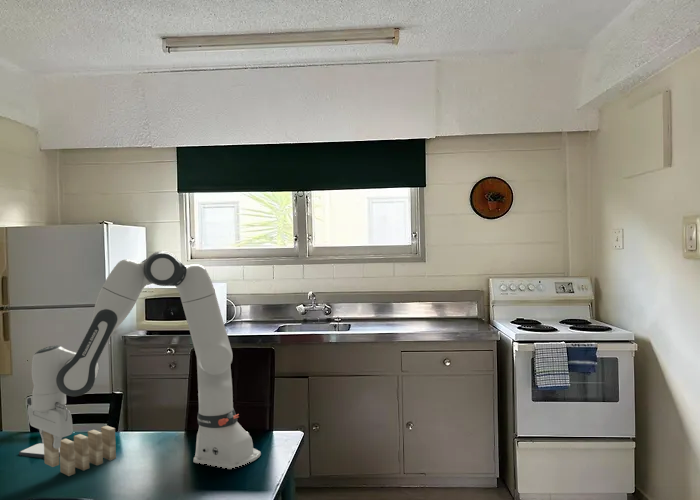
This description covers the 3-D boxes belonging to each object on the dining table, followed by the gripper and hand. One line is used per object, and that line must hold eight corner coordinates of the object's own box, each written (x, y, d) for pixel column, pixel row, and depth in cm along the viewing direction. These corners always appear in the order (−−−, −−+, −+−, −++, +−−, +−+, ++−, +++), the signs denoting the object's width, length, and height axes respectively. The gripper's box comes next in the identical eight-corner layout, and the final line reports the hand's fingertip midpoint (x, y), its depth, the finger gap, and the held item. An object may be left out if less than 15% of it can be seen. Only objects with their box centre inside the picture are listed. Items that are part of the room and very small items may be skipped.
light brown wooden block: (94, 459, 176) (93, 429, 176) (103, 463, 173) (101, 432, 173) (88, 461, 175) (87, 431, 174) (97, 465, 172) (95, 434, 171)
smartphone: (17, 457, 182) (54, 460, 177) (16, 452, 182) (54, 455, 177) (39, 447, 190) (75, 450, 186) (38, 442, 190) (75, 445, 186)
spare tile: (51, 461, 165) (50, 428, 165) (59, 464, 162) (58, 431, 162) (44, 463, 163) (43, 430, 163) (52, 467, 161) (51, 434, 160)
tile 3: (81, 464, 173) (79, 433, 172) (89, 468, 170) (88, 437, 169) (75, 467, 171) (73, 435, 171) (83, 470, 168) (81, 439, 168)
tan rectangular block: (107, 455, 180) (106, 425, 180) (116, 458, 177) (114, 428, 177) (102, 457, 178) (100, 427, 178) (110, 460, 175) (109, 430, 175)
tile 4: (67, 469, 169) (65, 438, 169) (75, 473, 166) (73, 441, 166) (60, 472, 167) (59, 440, 167) (68, 476, 164) (67, 443, 164)
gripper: (77, 403, 159) (79, 449, 159) (44, 392, 171) (46, 435, 171) (55, 408, 154) (57, 456, 154) (23, 397, 166) (25, 442, 166)
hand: (51, 445), depth 163 cm, fingers closed on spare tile, 5 cm apart
